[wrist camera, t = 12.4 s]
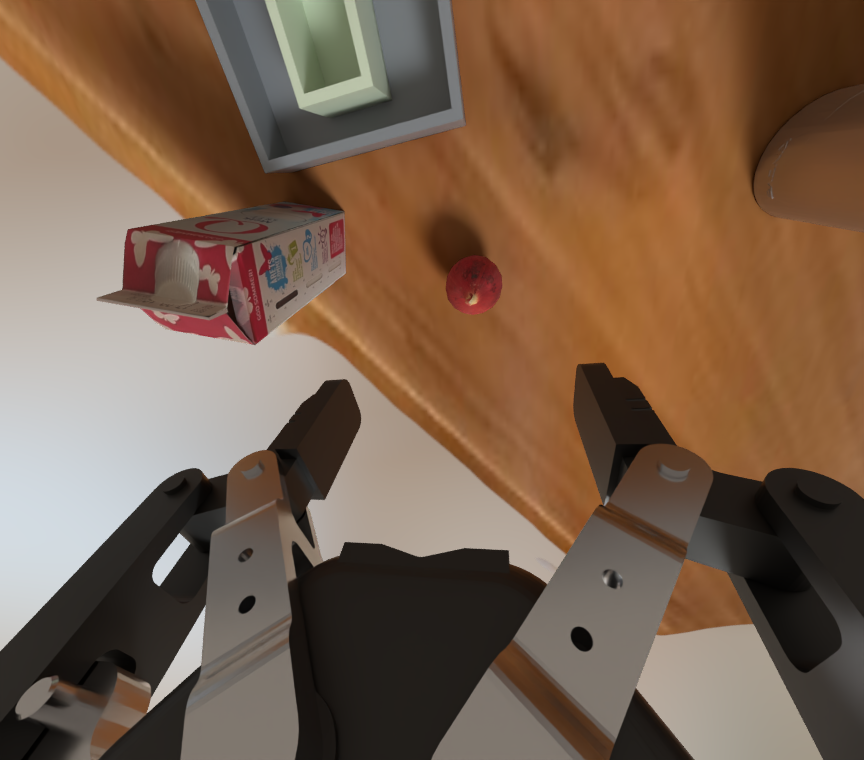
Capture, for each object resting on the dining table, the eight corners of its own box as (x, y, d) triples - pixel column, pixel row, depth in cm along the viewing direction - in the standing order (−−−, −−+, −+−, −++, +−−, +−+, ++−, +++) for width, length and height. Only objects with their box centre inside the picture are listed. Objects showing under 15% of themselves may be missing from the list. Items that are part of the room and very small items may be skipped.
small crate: (360, -59, 23) (328, -120, 18) (392, 100, 28) (373, 85, 23) (288, -29, 25) (239, -79, 20) (330, 118, 29) (299, 108, 24)
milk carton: (284, 201, 35) (67, 240, 17) (344, 211, 34) (192, 260, 16) (291, 264, 38) (121, 351, 20) (345, 273, 38) (223, 369, 20)
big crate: (433, -155, 21) (422, -232, 17) (465, 125, 29) (463, 118, 25) (210, -51, 25) (157, -94, 21) (292, 172, 33) (265, 173, 29)
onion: (453, 244, 35) (447, 262, 28) (505, 253, 35) (511, 273, 28) (445, 296, 38) (438, 323, 32) (493, 304, 38) (496, 333, 31)
